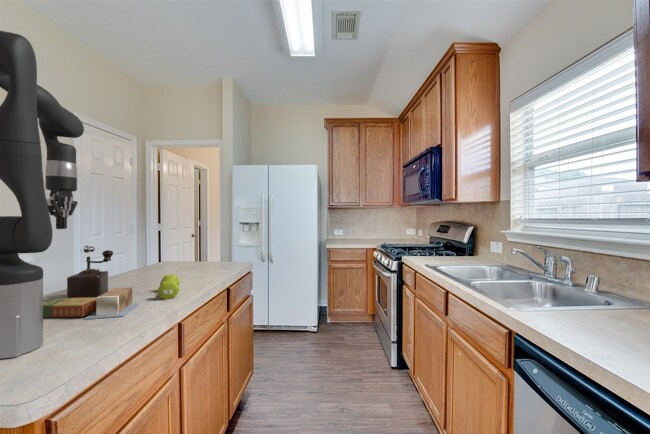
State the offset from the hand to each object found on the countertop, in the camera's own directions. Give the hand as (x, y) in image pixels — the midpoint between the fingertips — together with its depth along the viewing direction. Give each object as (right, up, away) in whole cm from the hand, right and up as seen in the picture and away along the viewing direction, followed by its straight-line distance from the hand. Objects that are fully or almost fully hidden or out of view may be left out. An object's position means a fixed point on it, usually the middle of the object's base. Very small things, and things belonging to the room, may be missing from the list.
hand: (61, 228), depth 91 cm
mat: (+13, -29, +6) cm, 32 cm away
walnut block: (+11, -26, +13) cm, 31 cm away
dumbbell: (+20, -29, +27) cm, 45 cm away
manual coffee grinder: (-11, -29, +25) cm, 40 cm away
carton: (0, -29, +3) cm, 29 cm away
